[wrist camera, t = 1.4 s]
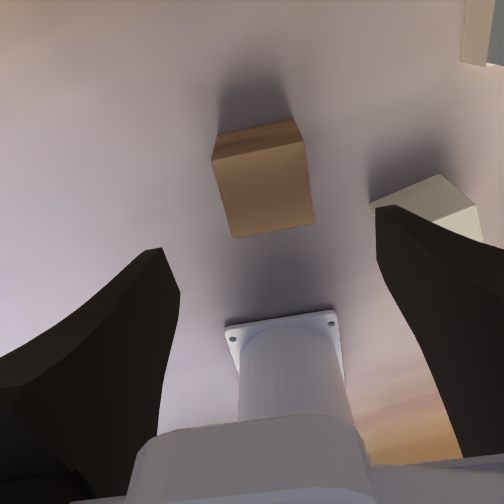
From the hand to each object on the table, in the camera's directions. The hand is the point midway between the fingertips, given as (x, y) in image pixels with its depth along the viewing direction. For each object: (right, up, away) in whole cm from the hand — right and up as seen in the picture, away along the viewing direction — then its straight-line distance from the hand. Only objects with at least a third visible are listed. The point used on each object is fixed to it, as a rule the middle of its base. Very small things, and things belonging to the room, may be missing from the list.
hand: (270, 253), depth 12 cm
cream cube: (+9, +2, +9) cm, 13 cm away
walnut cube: (0, +5, +8) cm, 9 cm away
